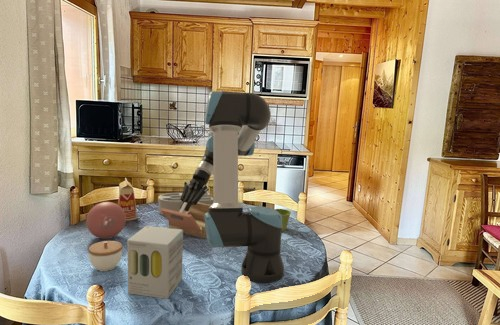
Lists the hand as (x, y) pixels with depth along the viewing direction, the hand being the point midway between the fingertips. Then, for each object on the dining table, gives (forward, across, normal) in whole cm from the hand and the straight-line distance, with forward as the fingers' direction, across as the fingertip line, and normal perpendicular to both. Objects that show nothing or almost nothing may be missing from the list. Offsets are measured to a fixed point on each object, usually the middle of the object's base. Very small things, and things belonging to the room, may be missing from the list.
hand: (180, 216), depth 152 cm
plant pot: (-18, -33, -31) cm, 49 cm away
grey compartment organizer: (-13, +20, -27) cm, 36 cm away
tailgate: (+3, 0, -7) cm, 8 cm away
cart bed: (-2, 0, -14) cm, 15 cm away
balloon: (+21, +22, +8) cm, 32 cm away
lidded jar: (+33, +2, +20) cm, 39 cm away
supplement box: (+33, -21, +20) cm, 44 cm away
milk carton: (+4, +36, -9) cm, 38 cm away
